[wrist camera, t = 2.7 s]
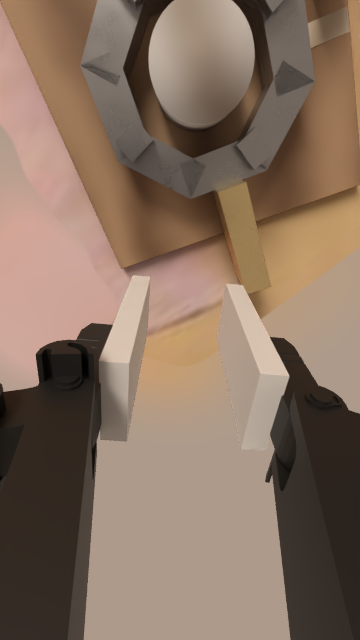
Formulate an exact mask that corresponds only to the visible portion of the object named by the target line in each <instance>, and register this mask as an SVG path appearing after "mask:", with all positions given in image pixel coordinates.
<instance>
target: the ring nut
mask: <svg viewBox="0 0 360 640" xmlns="http://www.w3.org/2000/svg"><path fill="white" fill-rule="evenodd" d="M173 1H174V0H97V4H96V8H95V11H94V15H93V19H92V23H91V26H90V30H89V34H88V38H87V41H86V45H85V49H84V53H83V56H82V60H81V64H80V67H81V69H82V72H83V74H84V77H85V79H86V82H87V84H88V87H89V89H90V92H91V95H92V97H93V100H94V102H95V105H96V107H97V110H98V112H99V115H100V117H101V120H102V122H103V125H104V127H105V130H106V133H107V135H108V138H109V140H110V143H111V145H112V148H113V150H114V153H115V155H116V158H117V160H118V162H119V163H121V164H123V165H125V166H127V167H129V168H131V169H133V170H135V171H137V172H139V173H141V174H143V175H145V176H147V177H149V178H151V179H153V180H154V181H156V182H158V183H160V184H162V185H164V186H166V187H168V188H170V189H172V190H174V191H176V192H178V193H180V194H182V195H184V196H186V197H188V198H190V199H192V198H195V197H198V196H200V195H203V194H206V193H208V192H211V191H213V195H214V198H215V202H216V205H217V209H218V212H219V216H220V220H221V223H222V227H223V230H224V234H225V237H226V241H227V244H228V248H229V251H230V255H231V258H232V262H233V265H234V269H235V272H236V275H237V277H238V279H239V281H240V283H241V285H243V286H244V288H245V290H246V292H247V294H249V293H253V292H256V291H259V290H262V289H265V288H268V287H271V284H270V280H269V276H268V272H267V267H266V263H265V259H264V255H263V250H262V246H261V242H260V238H259V233H258V229H257V225H256V221H255V216H254V212H253V208H252V204H251V200H250V195H249V191H248V187H247V183H246V182H245V181H242V180H243V179H246V178H248V177H251V176H254V175H256V174H259V173H262V172H264V171H267V169H268V167H269V165H270V164H271V162H272V160H273V158H274V156H275V154H276V152H277V151H278V149H279V147H280V145H281V143H282V141H283V140H284V138H285V136H286V134H287V132H288V130H289V129H290V127H291V125H292V123H293V121H294V119H295V118H296V116H297V114H298V112H299V110H300V108H301V107H302V105H303V103H304V101H305V99H306V97H307V96H308V94H309V92H310V90H311V88H312V86H313V85H314V83H315V76H314V68H313V61H312V53H311V45H310V37H309V29H308V21H307V14H306V6H305V0H232V1H233V2H234V3H235V4H236V5H237V6H238V7H239V8H240V9H241V11H242V12H243V14H244V15H245V17H246V19H247V21H248V23H249V24H250V25H251V29H252V34H253V39H254V44H255V50H256V55H257V60H258V65H259V71H260V76H261V81H262V86H263V89H262V91H261V93H260V95H259V97H258V99H257V101H256V103H255V105H254V107H253V109H252V111H251V113H250V116H249V118H248V120H247V122H246V124H245V126H244V128H243V130H242V132H241V134H240V136H239V138H238V140H237V141H236V142H233V143H231V144H228V145H226V146H223V147H221V148H218V149H216V150H213V151H210V152H208V153H205V154H203V155H200V156H198V157H195V158H191V157H189V156H187V155H186V154H184V153H182V152H180V151H178V150H176V149H175V148H173V147H171V146H169V145H167V144H165V143H163V142H162V141H160V140H158V139H156V138H154V137H152V136H151V135H149V134H148V132H147V129H146V126H145V123H144V120H143V118H142V115H141V112H140V109H139V106H138V103H137V100H136V97H135V94H134V91H133V88H132V86H131V83H130V80H129V79H130V76H131V73H132V70H133V67H134V64H135V61H136V57H137V54H138V51H139V48H140V45H141V42H142V39H143V36H144V33H145V30H146V27H147V24H148V21H149V18H150V17H152V16H154V15H156V14H158V13H160V12H163V11H164V10H165V9H166V8H167V7H168V5H169V4H170V3H171V2H173Z"/></svg>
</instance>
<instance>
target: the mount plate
mask: <svg viewBox="0 0 360 640" xmlns="http://www.w3.org/2000/svg"><path fill="white" fill-rule="evenodd" d="M0 3H1V5H2V7H3V9H4V11H5V14H6V16H7V18H8V20H9V23H10V25H11V27H12V29H13V31H14V34H15V36H16V38H17V40H18V42H19V45H20V47H21V49H22V51H23V53H24V56H25V58H26V60H27V62H28V64H29V67H30V69H31V71H32V73H33V75H34V78H35V80H36V82H37V84H38V86H39V89H40V91H41V93H42V95H43V97H44V100H45V102H46V104H47V106H48V108H49V111H50V113H51V115H52V117H53V119H54V122H55V124H56V126H57V128H58V131H59V133H60V135H61V137H62V139H63V142H64V144H65V146H66V148H67V150H68V153H69V155H70V157H71V159H72V161H73V164H74V166H75V168H76V170H77V172H78V175H79V177H80V179H81V181H82V183H83V186H84V188H85V190H86V192H87V194H88V197H89V199H90V201H91V203H92V205H93V208H94V210H95V212H96V214H97V216H98V219H99V221H100V223H101V225H102V228H103V230H104V232H105V234H106V236H107V239H108V241H109V243H110V245H111V247H112V250H113V252H114V254H115V256H116V258H117V261H118V263H119V265H120V267H121V269H122V268H125V267H128V266H131V265H133V264H136V263H139V262H142V261H145V260H148V259H150V258H153V257H156V256H159V255H162V254H165V253H167V252H170V251H173V250H176V249H179V248H182V247H185V246H187V245H190V244H193V243H196V242H199V241H202V240H204V239H207V238H210V237H213V236H216V235H219V234H221V233H224V230H223V227H222V223H221V220H220V216H219V212H218V209H217V205H216V202H215V198H214V195H213V191H211V192H208V193H206V194H203V195H200V196H198V197H195V198H192V199H190V198H188V197H186V196H184V195H182V194H180V193H178V192H176V191H174V190H172V189H170V188H168V187H166V186H164V185H162V184H160V183H158V182H156V181H154V180H153V179H151V178H149V177H147V176H145V175H143V174H141V173H139V172H137V171H135V170H133V169H131V168H129V167H127V166H125V165H123V164H121V163H119V162H118V160H117V158H116V155H115V153H114V150H113V148H112V145H111V143H110V140H109V138H108V135H107V133H106V130H105V127H104V125H103V122H102V120H101V117H100V115H99V112H98V110H97V107H96V105H95V102H94V100H93V97H92V95H91V92H90V89H89V87H88V84H87V82H86V79H85V77H84V74H83V72H82V69H81V67H80V64H81V60H82V56H83V53H84V49H85V45H86V41H87V38H88V34H89V30H90V26H91V23H92V19H93V15H94V11H95V8H96V4H97V0H0ZM305 6H306V14H307V21H308V29H309V37H310V45H311V53H312V61H313V68H314V76H315V83H314V85H313V86H312V88H311V90H310V92H309V94H308V96H307V97H306V99H305V101H304V103H303V105H302V107H301V108H300V110H299V112H298V114H297V116H296V118H295V119H294V121H293V123H292V125H291V127H290V129H289V130H288V132H287V134H286V136H285V138H284V140H283V141H282V143H281V145H280V147H279V149H278V151H277V152H276V154H275V156H274V158H273V160H272V162H271V164H270V165H269V167H268V169H267V171H264V172H262V173H259V174H256V175H254V176H251V177H248V178H246V179H243V180H242V181H245V182H246V183H247V187H248V191H249V195H250V200H251V204H252V208H253V212H254V216H255V221H258V220H261V219H264V218H267V217H270V216H273V215H275V214H278V213H281V212H284V211H287V210H290V209H292V208H295V207H298V206H301V205H304V204H307V203H309V202H312V201H315V200H318V199H321V198H324V197H326V196H329V195H332V194H335V193H338V192H341V191H344V190H346V189H349V188H352V187H355V186H358V185H360V146H359V134H358V122H357V109H356V97H355V85H354V73H353V61H352V49H351V37H350V24H349V12H348V0H305ZM129 80H130V83H131V86H132V88H133V91H134V94H135V97H136V100H137V103H138V106H139V109H140V112H141V115H142V118H143V120H144V123H145V126H146V129H147V132H148V134H149V135H151V136H152V137H154V138H156V139H158V140H160V141H162V142H163V143H165V144H167V145H169V146H171V147H173V148H175V149H176V150H178V151H180V152H182V153H184V154H186V155H187V156H189V157H191V158H195V157H198V156H200V155H203V154H205V153H208V152H210V151H213V150H216V149H218V148H221V147H223V146H226V145H228V144H231V143H233V142H236V141H237V140H238V138H239V136H240V134H241V132H242V130H243V128H244V126H245V124H246V122H247V120H248V118H249V116H250V113H251V111H252V109H253V107H254V105H255V103H256V101H257V99H258V97H259V95H260V93H261V91H262V89H263V86H262V81H261V76H260V71H259V65H258V60H257V55H256V50H255V44H254V39H253V34H252V29H251V25H250V24H249V23H248V21H247V19H246V17H245V15H244V14H243V12H242V11H241V9H240V8H239V7H238V6H237V5H236V4H235V3H234V2H233V1H232V0H174V1H173V2H171V3H170V4H169V5H168V7H167V8H166V9H165V10H164V11H163V12H160V13H158V14H156V15H154V16H152V17H150V18H149V21H148V24H147V27H146V30H145V33H144V36H143V39H142V42H141V45H140V48H139V51H138V54H137V57H136V61H135V64H134V67H133V70H132V73H131V76H130V79H129Z"/></svg>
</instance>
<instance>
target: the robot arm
mask: <svg viewBox="0 0 360 640" xmlns="http://www.w3.org/2000/svg"><path fill="white" fill-rule="evenodd" d="M149 293H150V277H148V276H137V275H133V276H132V279H131V281H130V284H129V286H128V289H127V291H126V294H125V296H124V299H123V301H122V304H121V306H120V309H119V311H118V314H117V316H116V319H115V321H114V324H113V325H107V324H95V323H91V324H90V325H88V326H87V327H85V328H84V329H82V330H81V332H80V334H79V336H78V337H77V340H63V341H56V342H53V343H50V344H47V345H46V346H44V347H42V348H40V350H39V351H38V352H37V353H36V360H37V368H38V376H39V385H38V386H36V387H33V388H28V389H22V390H15V391H8V392H3V387H2V384H0V640H83V639H84V624H85V611H86V597H87V583H88V568H89V555H90V542H91V528H92V514H93V499H94V486H95V472H96V457H97V442H96V441H97V438H98V434H99V431H100V438H101V440H114V441H127V438H128V433H129V427H130V422H131V416H132V411H133V406H134V400H135V394H136V389H137V384H138V379H139V373H140V368H141V363H142V357H143V352H144V347H145V341H146V336H147V328H148V311H149ZM217 341H218V345H219V350H220V354H221V359H222V364H223V368H224V373H225V378H226V382H227V387H228V392H229V396H230V401H231V406H232V411H233V415H234V420H235V425H236V429H237V434H238V439H239V443H240V448H241V449H247V450H248V449H249V450H263V451H266V449H267V446H268V443H269V440H270V437H271V439H272V442H273V445H274V448H275V451H274V453H273V456H272V460H271V463H270V466H269V469H268V472H267V475H266V480H265V482H268V483H269V482H270V479H271V476H272V475H273V484H274V493H275V502H276V511H277V520H278V529H279V538H280V547H281V556H282V565H283V574H284V584H285V593H286V601H287V609H288V610H287V611H288V620H289V628H290V638H291V640H360V414H359V413H355V412H352V411H349V410H348V408H347V406H346V404H345V403H344V401H343V400H342V398H340V397H339V396H338V395H337V394H335V393H334V392H332V391H330V390H328V389H326V388H324V387H321V386H318V384H317V383H316V381H315V380H314V378H313V377H312V375H311V373H310V371H309V370H308V368H307V367H306V365H305V364H304V362H303V360H302V358H301V357H299V354H298V352H297V350H296V349H295V347H294V346H293V345H292V344H290V343H289V342H288V341H287V340H285V339H284V338H274V337H269V335H268V333H267V331H266V329H265V327H264V325H263V323H262V321H261V319H260V317H259V316H258V314H257V312H256V310H255V308H254V306H253V304H252V302H251V300H250V298H249V296H248V294H247V292H246V290H245V288H244V286H243V285H235V284H226V286H225V292H224V298H223V304H222V310H221V315H220V321H219V327H218V333H217Z"/></svg>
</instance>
